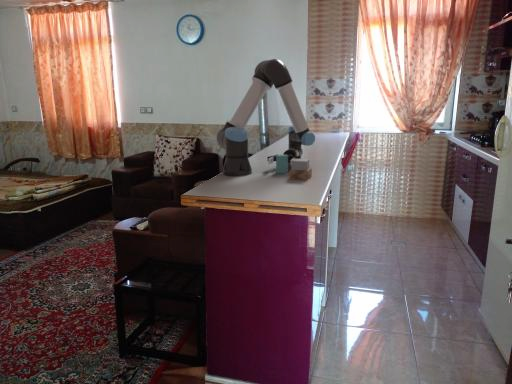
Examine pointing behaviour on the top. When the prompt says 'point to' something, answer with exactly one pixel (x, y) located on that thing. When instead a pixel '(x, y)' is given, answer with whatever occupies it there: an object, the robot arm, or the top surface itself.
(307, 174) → the tower base
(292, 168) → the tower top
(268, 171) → the top surface
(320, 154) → the top surface
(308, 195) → the top surface
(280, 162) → the column block
